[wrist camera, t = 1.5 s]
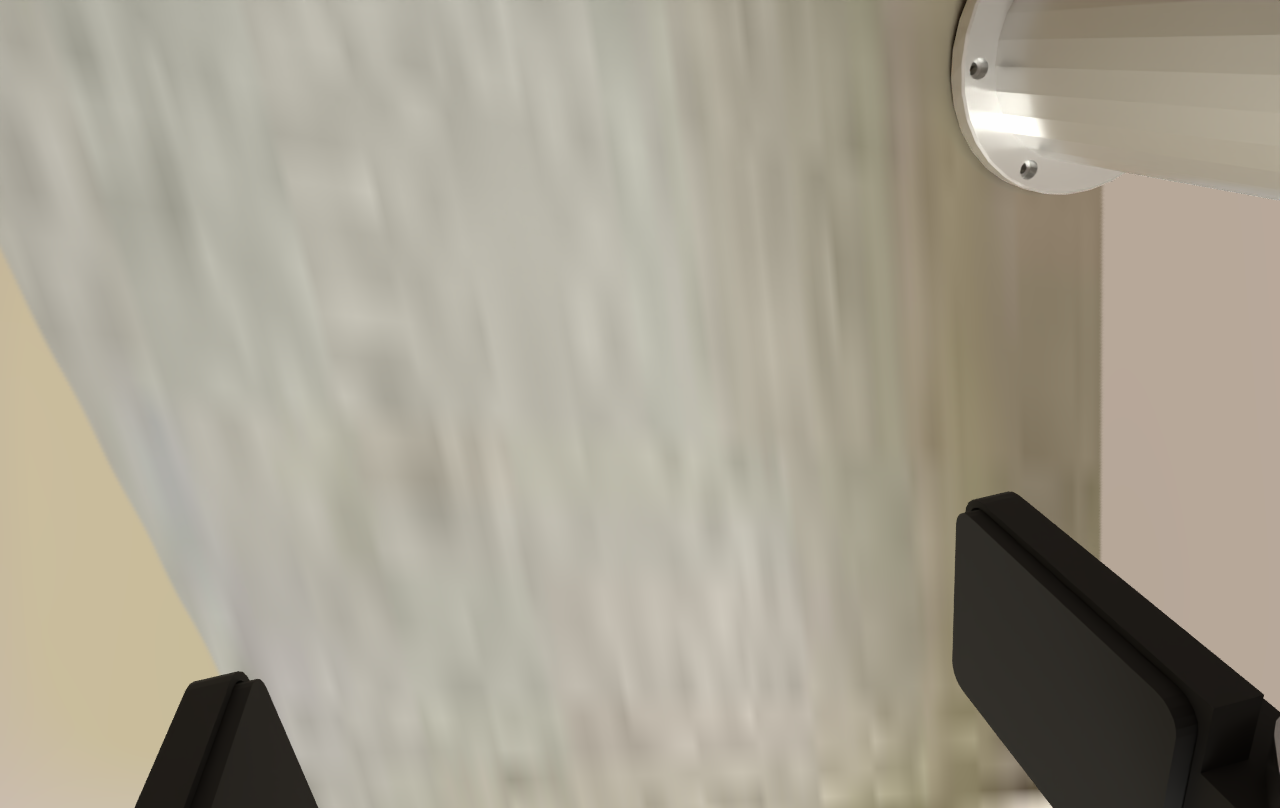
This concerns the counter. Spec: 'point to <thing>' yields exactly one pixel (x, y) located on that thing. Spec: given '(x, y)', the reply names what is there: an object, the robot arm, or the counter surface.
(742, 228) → the counter surface
